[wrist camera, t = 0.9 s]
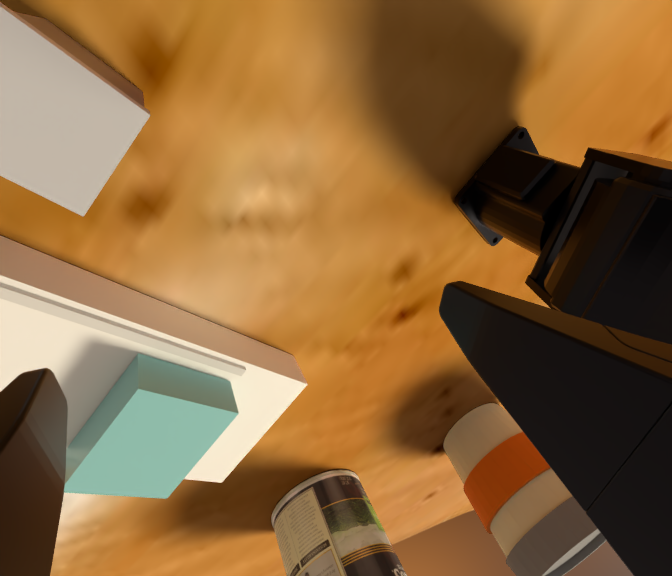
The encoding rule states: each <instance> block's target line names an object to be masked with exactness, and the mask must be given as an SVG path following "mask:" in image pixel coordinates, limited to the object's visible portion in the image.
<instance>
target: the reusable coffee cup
mask: <svg viewBox="0 0 672 576" xmlns="http://www.w3.org/2000/svg"><path fill="white" fill-rule="evenodd" d="M443 448H444V450H445V452H446V454H447V456H448V457H449V459H450V461H451V463H452V464H453V466H454V468H455V469H456V471H457V473H458V475H459V476H460V478H461V480H462V482H463V483H464V492H465V494H466V496H467V497H468V499H469V501H470V503H471V504H472V506H473V508H474V510H475V511H476V513H477V515H478V516H479V518H480V520H481V522H482V523H483V525H484V527H485V529H486V531H487V532H488V533H489V534H493V535H494V537H495V539H496V540H497V542H498V544H499V545H500V547H501V549H502V550H503V552H504V554H505V556H506V557H507V559H506V564H507V565H508V566H509V567H510V568H511V570H512V571H513V572H514V573H515V574H516V576H563V575H565V574H566V573H567V572H569V571H570V570H571V569H573V568H574V567H575V566H577V565H578V564H579V563H581V562H582V561H583V560H584V559H586V558H587V557H588V556H589V555H590V554H591V553H593V552H594V551H595V550H596V549H597V548H599V547H600V546H601V545H602V544H603V543H604V542H605V541H606V539H605V538H604V536H603V535H602V534H601V533H600V531H599V530H598V529H597V527H596V526H595V525H594V524H593V522H592V521H591V520H590V518H589V517H588V516H587V514H586V511H584V510H583V509H582V507H581V506H580V505H579V504H578V502H577V501H576V500H575V498H574V497H573V496H572V495H571V493H570V492H569V491H568V489H567V488H566V487H565V485H564V484H563V483H562V482H561V480H560V479H559V478H558V476H557V475H556V474H555V472H554V471H553V470H552V469H551V467H550V466H549V465H548V463H547V462H546V461H545V460H544V458H543V457H542V456H541V454H540V453H539V452H538V450H537V449H536V448H535V447H534V445H533V444H532V443H531V441H530V440H529V439H528V437H527V436H526V435H525V434H524V432H523V431H522V430H521V428H520V427H519V426H518V425H517V423H516V422H515V421H514V419H513V418H512V417H511V415H510V414H509V413H508V412H507V411H505V410H504V409H503V408H502V407H500V406H499V405H498V404H495V403H488V404H484V405H481V406H479V407H477V408H475V409H473V410H471V411H470V412H469V413H467V414H466V415H464V416H463V417H462V418H461V419H460V420H459V421H458V422H457V423H456V424H455V425H454V426H453V427H452V428H451V429H450V431H449V432H448V434H447V436H446V438H445V440H444V443H443Z"/></svg>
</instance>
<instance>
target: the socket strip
mask: <svg viewBox="0 0 672 576" xmlns="http://www.w3.org/2000/svg"><path fill="white" fill-rule="evenodd" d="M138 353H139V354H143V355H146V356H149V357H152V358H156V359H159V360H162V361H165V362H169V363H172V364H175V365H178V366H182V367H185V368H188V369H192V370H195V371H198V372H201V373H205V374H208V375H211V376H214V377H218V378H221V379H224V380H228V381H230V383H231V386H232V390H233V394H234V397H235V401H236V405H237V408H238V412H239V414H238V415H237V416H236V417H235V419H234V420H233V421H232V422H231V423H230V425H229V426H228V427H227V428H226V429H225V430H224V432H223V433H222V434H221V435H220V436H219V438H218V439H217V440H216V441H215V442H214V444H213V445H212V446H211V447H210V448H209V449H208V451H207V452H206V453H205V454H204V455H203V457H202V458H201V459H200V460H199V461H198V462H197V464H196V465H195V466H194V467H193V468H192V470H191V471H190V472H189V473H188V474H187V475H186V477H185V478H184V479H188V480H198V481H208V482H218V483H222V482H223V481H224V480H225V479H226V477H227V476H228V475H229V474H230V473H231V472H232V471H233V469H234V468H235V467H236V466H237V465H238V464H239V462H240V461H241V460H242V459H243V458H244V457H245V456H246V454H247V453H248V452H249V451H250V450H251V449H252V448H253V446H254V445H255V444H256V443H257V442H258V441H259V440H260V438H261V437H262V436H263V435H264V434H265V433H266V432H267V430H268V429H269V428H270V427H271V426H272V425H273V424H274V422H275V421H276V420H277V419H278V418H279V417H280V415H281V414H282V413H283V412H284V411H285V410H286V409H287V407H288V406H289V405H290V404H291V403H292V402H293V401H294V399H295V398H296V397H297V396H298V395H299V394H300V393H301V391H302V390H303V389H304V388H305V387H306V386H307V385H308V384H307V382H306V380H305V378H304V376H303V374H302V372H301V370H300V368H299V366H298V364H297V362H296V360H295V358H294V356H293V355H291V354H288V353H286V352H283V351H281V350H278V349H276V348H273V347H271V346H269V345H266V344H264V343H261V342H259V341H256V340H254V339H252V338H249V337H247V336H244V335H242V334H239V333H237V332H234V331H232V330H230V329H227V328H225V327H222V326H220V325H217V324H215V323H213V322H210V321H208V320H205V319H203V318H200V317H198V316H195V315H193V314H191V313H188V312H186V311H183V310H181V309H178V308H176V307H173V306H171V305H169V304H166V303H164V302H161V301H159V300H156V299H154V298H152V297H149V296H147V295H144V294H142V293H139V292H137V291H134V290H132V289H130V288H127V287H125V286H122V285H120V284H117V283H115V282H113V281H110V280H108V279H105V278H103V277H100V276H98V275H95V274H93V273H91V272H88V271H86V270H83V269H81V268H78V267H76V266H73V265H71V264H69V263H66V262H64V261H61V260H59V259H56V258H54V257H52V256H49V255H47V254H44V253H42V252H39V251H37V250H34V249H32V248H30V247H27V246H25V245H22V244H20V243H17V242H15V241H13V240H10V239H8V238H5V237H3V236H0V392H1V391H2V390H3V389H4V388H5V387H6V386H7V385H8V384H10V383H11V382H12V381H13V380H14V379H15V378H16V377H17V376H18V375H20V374H21V373H24V372H27V371H32V370H37V369H42V368H48V369H50V370H51V371H52V372H53V373H54V375H55V377H56V379H57V381H58V383H59V385H60V387H61V389H62V391H63V393H64V395H65V397H66V400H67V405H68V419H67V447H68V446H69V445H70V443H71V442H72V441H73V439H74V438H75V437H76V435H77V434H78V433H79V431H80V430H81V429H82V427H83V426H84V425H85V423H86V422H87V421H88V419H89V418H90V417H91V415H92V414H93V413H94V411H95V410H96V409H97V407H98V406H99V405H100V403H101V402H102V401H103V399H104V398H105V397H106V395H107V394H108V393H109V391H110V390H111V389H112V387H113V386H114V385H115V383H116V382H117V381H118V379H119V378H120V377H121V375H122V374H123V373H124V371H125V370H126V369H127V367H128V366H129V365H130V363H131V362H132V361H133V359H134V358H135V357H136V355H137V354H138ZM66 449H67V448H66Z"/></svg>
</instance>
